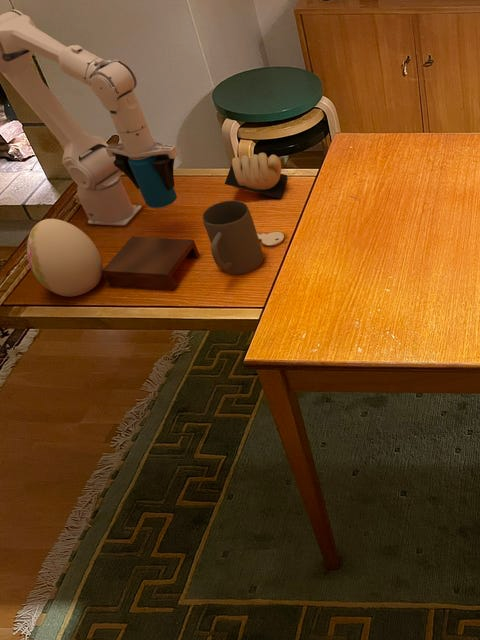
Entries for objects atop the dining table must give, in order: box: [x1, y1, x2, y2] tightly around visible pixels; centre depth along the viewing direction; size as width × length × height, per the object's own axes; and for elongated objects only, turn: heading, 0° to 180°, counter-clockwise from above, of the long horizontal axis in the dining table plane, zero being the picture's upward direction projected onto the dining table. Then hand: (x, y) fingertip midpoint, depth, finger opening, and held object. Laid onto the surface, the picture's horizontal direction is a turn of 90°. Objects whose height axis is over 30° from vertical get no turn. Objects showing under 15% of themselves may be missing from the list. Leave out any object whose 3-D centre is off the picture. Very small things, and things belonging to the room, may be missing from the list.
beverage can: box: [128, 155, 178, 210], centre depth 151 cm, size 6×6×12 cm
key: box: [257, 231, 285, 247], centre depth 155 cm, size 11×1×5 cm
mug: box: [202, 200, 264, 275], centre depth 143 cm, size 14×9×12 cm
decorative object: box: [224, 152, 288, 200], centre depth 166 cm, size 13×10×10 cm
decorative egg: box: [26, 218, 103, 298], centre depth 141 cm, size 12×12×15 cm
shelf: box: [102, 236, 200, 291], centre depth 147 cm, size 14×12×4 cm
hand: (156, 187), depth 152 cm, fingers closed on beverage can, 6 cm apart
